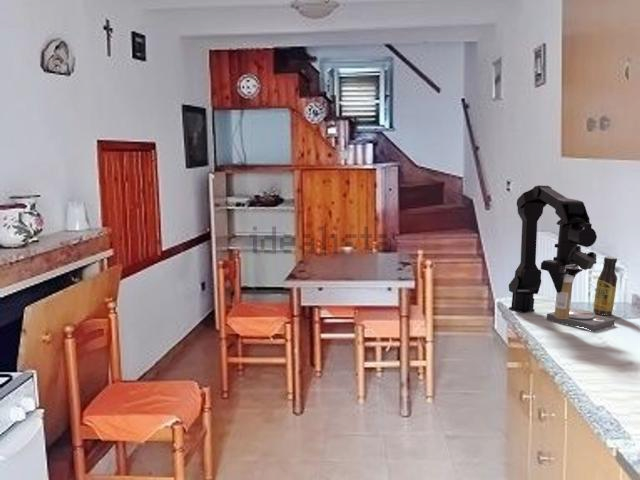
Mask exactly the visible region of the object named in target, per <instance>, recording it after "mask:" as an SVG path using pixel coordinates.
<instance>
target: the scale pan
mask: <svg viewBox="0 0 640 480" xmlns="http://www.w3.org/2000/svg"><path fill="white" fill-rule="evenodd" d="M594 315H595V313H594V312H592V311H589V310H587V309H586V310H585V309H583V308H582V309H581V308H575V307H570V312H569V318H571V319H578V320H591V319H594Z"/></svg>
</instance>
